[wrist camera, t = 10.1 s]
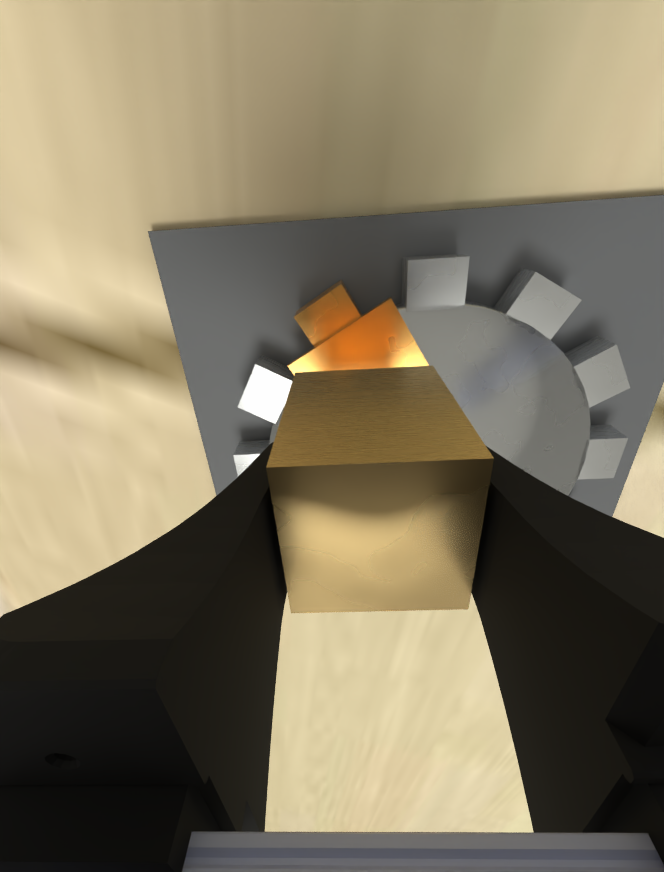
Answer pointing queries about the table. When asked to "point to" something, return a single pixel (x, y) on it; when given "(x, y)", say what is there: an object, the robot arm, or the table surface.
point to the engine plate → (382, 278)
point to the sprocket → (468, 365)
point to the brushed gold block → (377, 492)
